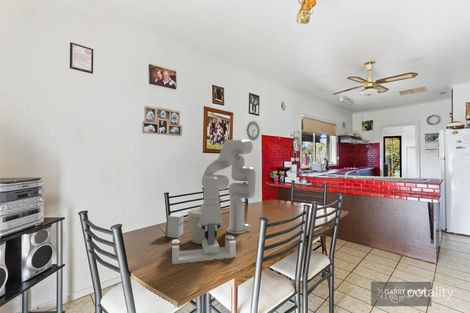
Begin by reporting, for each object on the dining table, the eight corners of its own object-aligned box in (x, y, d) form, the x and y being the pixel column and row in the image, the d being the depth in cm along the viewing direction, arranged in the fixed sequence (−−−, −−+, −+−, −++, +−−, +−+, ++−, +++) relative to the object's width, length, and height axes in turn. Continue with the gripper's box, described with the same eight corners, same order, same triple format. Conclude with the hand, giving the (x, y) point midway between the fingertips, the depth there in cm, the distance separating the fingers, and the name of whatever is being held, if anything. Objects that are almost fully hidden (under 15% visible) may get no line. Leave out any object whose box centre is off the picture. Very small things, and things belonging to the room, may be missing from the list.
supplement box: (178, 238, 138) (178, 217, 138) (167, 237, 140) (167, 216, 140) (183, 234, 145) (183, 213, 145) (172, 233, 147) (173, 213, 147)
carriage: (215, 244, 120) (216, 219, 120) (219, 251, 112) (219, 225, 111) (202, 246, 118) (202, 220, 118) (204, 253, 110) (205, 225, 110)
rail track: (232, 249, 123) (232, 233, 123) (237, 257, 113) (237, 240, 113) (170, 255, 115) (170, 238, 115) (170, 264, 105) (170, 246, 105)
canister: (224, 241, 134) (225, 205, 134) (199, 250, 121) (199, 210, 121) (205, 233, 147) (205, 200, 147) (180, 240, 134) (181, 204, 134)
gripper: (225, 199, 121) (225, 234, 121) (193, 200, 116) (193, 237, 116) (229, 202, 113) (228, 239, 113) (195, 203, 109) (194, 242, 109)
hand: (210, 238), depth 115 cm, fingers closed on carriage, 3 cm apart
